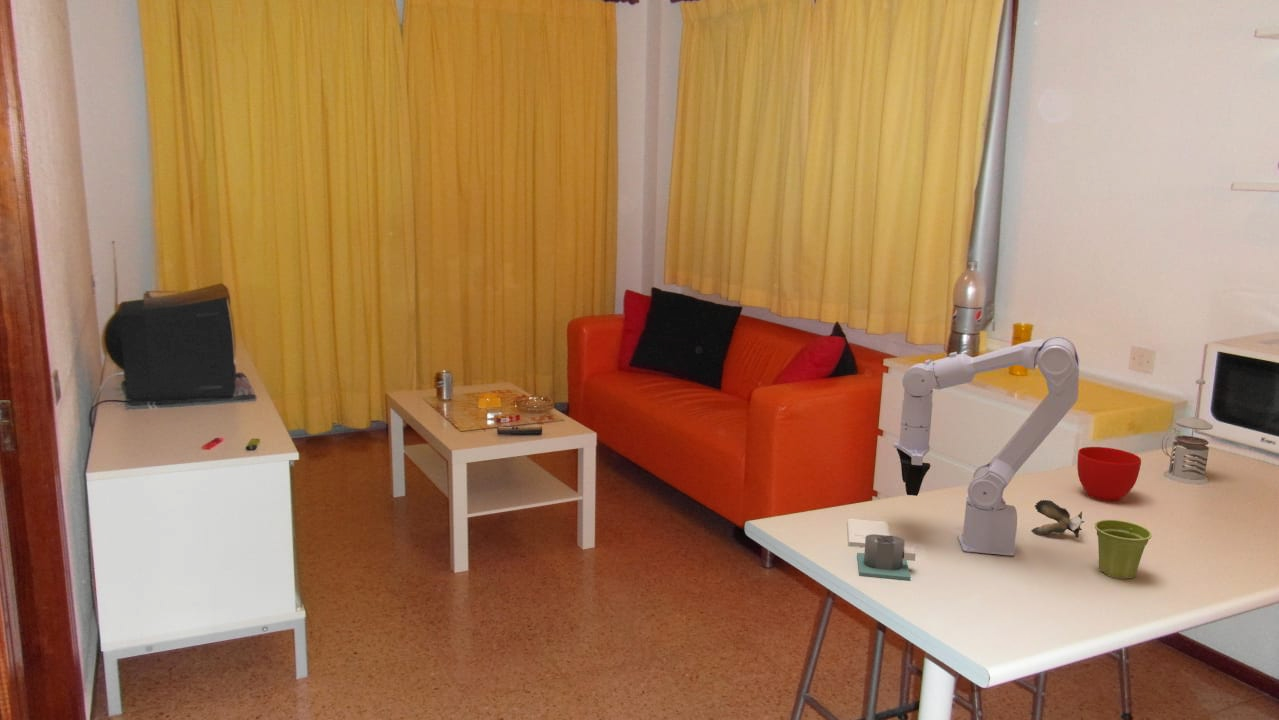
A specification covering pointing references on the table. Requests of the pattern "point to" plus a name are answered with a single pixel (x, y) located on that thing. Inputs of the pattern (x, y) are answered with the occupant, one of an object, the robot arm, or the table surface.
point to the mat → (882, 570)
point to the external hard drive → (864, 530)
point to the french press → (1189, 451)
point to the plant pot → (1120, 547)
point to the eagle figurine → (1057, 519)
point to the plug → (886, 552)
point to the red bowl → (1107, 472)
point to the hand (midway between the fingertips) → (910, 488)
